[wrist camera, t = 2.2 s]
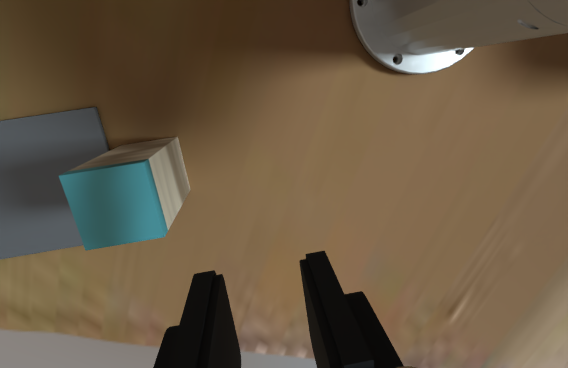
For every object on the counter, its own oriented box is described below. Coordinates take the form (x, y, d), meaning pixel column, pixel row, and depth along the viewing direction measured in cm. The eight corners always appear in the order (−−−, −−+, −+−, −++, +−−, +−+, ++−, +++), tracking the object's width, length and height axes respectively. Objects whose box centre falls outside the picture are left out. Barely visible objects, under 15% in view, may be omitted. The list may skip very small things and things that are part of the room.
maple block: (177, 136, 30) (143, 162, 20) (190, 189, 31) (164, 237, 21) (120, 145, 29) (58, 175, 20) (136, 198, 31) (85, 250, 21)
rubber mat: (96, 106, 28) (94, 107, 28) (135, 234, 32) (134, 236, 31) (-78, 132, 27) (-82, 133, 27) (-17, 260, 31) (-21, 262, 31)
